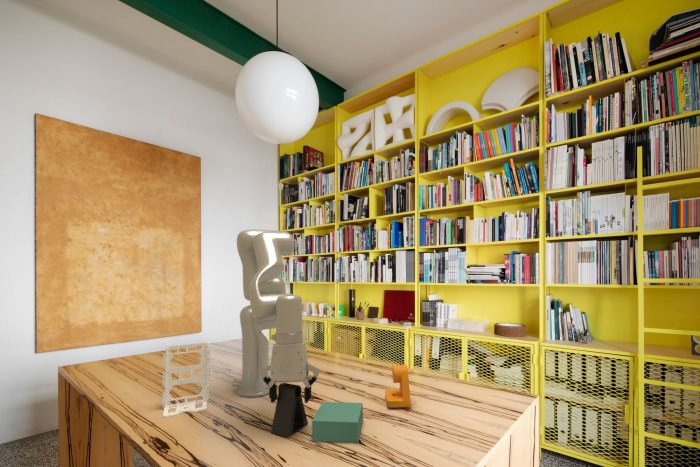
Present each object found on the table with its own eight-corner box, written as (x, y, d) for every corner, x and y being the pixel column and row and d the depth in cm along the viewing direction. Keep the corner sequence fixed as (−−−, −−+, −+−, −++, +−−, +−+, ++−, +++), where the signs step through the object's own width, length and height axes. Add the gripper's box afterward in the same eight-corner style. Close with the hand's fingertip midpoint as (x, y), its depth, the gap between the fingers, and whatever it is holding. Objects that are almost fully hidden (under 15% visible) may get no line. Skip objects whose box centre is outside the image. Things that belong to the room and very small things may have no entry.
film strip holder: (159, 418, 106) (161, 351, 108) (163, 403, 119) (165, 343, 121) (209, 410, 112) (210, 346, 114) (208, 396, 125) (209, 339, 127)
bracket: (385, 397, 119) (383, 361, 120) (406, 397, 119) (404, 361, 120) (387, 410, 108) (386, 370, 110) (410, 409, 108) (409, 370, 109)
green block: (312, 441, 90) (312, 420, 90) (322, 419, 103) (322, 401, 103) (358, 442, 88) (357, 422, 89) (363, 420, 101) (362, 402, 102)
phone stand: (287, 438, 92) (287, 391, 93) (270, 433, 95) (270, 387, 96) (308, 424, 100) (307, 381, 101) (291, 420, 102) (291, 378, 104)
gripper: (255, 341, 97) (255, 406, 95) (315, 340, 95) (317, 406, 93) (265, 336, 104) (265, 396, 102) (321, 335, 102) (323, 396, 100)
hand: (290, 401), depth 97 cm, fingers open, 9 cm apart
